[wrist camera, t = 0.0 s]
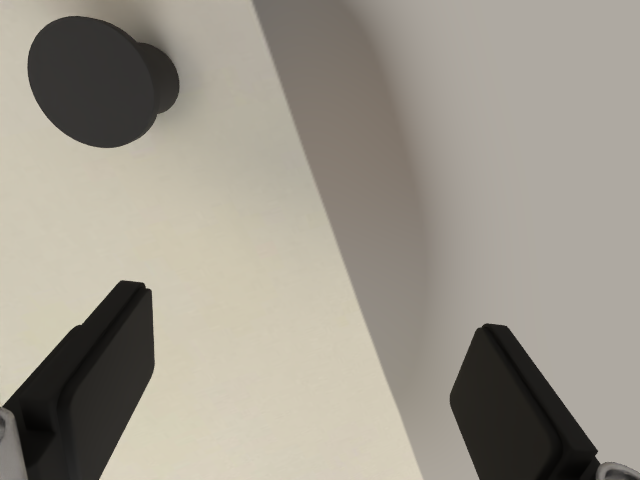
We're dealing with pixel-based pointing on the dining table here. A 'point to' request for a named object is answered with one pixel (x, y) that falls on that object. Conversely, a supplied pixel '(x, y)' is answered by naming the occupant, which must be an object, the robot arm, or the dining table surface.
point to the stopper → (99, 81)
